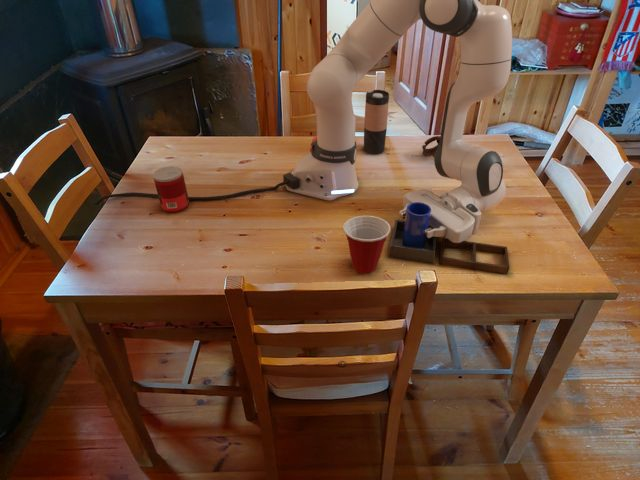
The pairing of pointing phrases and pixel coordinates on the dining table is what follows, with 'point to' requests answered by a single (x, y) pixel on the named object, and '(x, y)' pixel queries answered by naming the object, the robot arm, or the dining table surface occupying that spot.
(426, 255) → the dark brown square tray
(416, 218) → the blue cup
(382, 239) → the plastic cup
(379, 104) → the travel mug
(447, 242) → the brown divided tray
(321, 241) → the dining table surface
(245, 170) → the dining table surface
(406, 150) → the dining table surface
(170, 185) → the canned food
